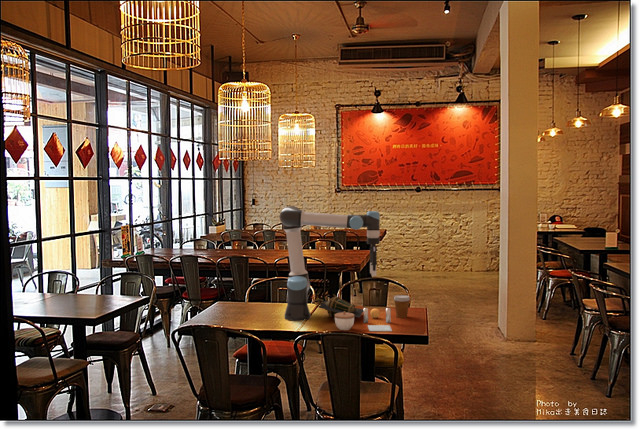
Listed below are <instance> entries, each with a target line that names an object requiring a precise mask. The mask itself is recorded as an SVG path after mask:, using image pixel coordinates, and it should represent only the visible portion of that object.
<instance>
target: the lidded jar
mask: <svg viewBox="0 0 640 430" xmlns="http://www.w3.org/2000/svg"><path fill="white" fill-rule="evenodd" d="M334 322H335V326H336V327H337V328H338V330H339V331H349V330H351V329H352V327H353V325H354V322H355V317H354V314H352V313H346V312H345V311H344V312H342V313H336V314H335V317H334Z"/></svg>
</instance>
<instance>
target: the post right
mask: <svg viewBox="0 0 640 430" xmlns="http://www.w3.org/2000/svg"><path fill="white" fill-rule="evenodd" d="M391 311H392V309H391V307H386V308H385V323H386V324H391V323H392V321H391V319H392V318H391V317H392V316H391V314H392V313H391Z"/></svg>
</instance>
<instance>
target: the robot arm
mask: <svg viewBox="0 0 640 430" xmlns="http://www.w3.org/2000/svg"><path fill="white" fill-rule="evenodd" d="M380 217H381V216H380V212H379V211H378V210H377V211H367V212H366V214H336V213H326V212H325V213H322V212H312V211H310V212H309V211H304V209H299V208H298V207H297V206H294V205H290V206H289V205H288V206H286V207H284V208H283V209H282V210H281V211H280V213H279V221H280V223H281V224H282V228H283V229H282V230H283V231H284V232H285V234H286V243H287V250H288V251H287V252H288V261H289V268H290V272H289V273H288V278H287V283H286V286H287V287H286V289H287V293H286V294H287V295H286V296H287V297H286V298H287V299H286V300H287V306H286V308H285V312H284V316H283V317H284V319H285V320H288V321H295V322H296V321H298V322H299V321H300V322H301V321H307V320H310V319H311V311H310V309H309V304H308V292H309V290H310V288H311V281H310V279H309V272H308V271H307V270H306V267H305V258H304V252H303V243H302V234H301V230H302V229H303V226H311V227H312V226H313V227H314V226H315V227H327V228H328V227H329V228H339V229H340V228H341V229H349V230H350V229H353V230H360V229H361V228H366V237H367V238H366V244H367V245H369V274H371V277H377V264H378V261H377V260H378V257H377V256H378V254H377V250H378V247H377V246H376V245H379V244H380V243H381V239H380V236H381V235H380V234H381V230H380V227H381V225H380V224H381V221H380V220H381V218H380Z"/></svg>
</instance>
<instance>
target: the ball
mask: <svg viewBox="0 0 640 430" xmlns="http://www.w3.org/2000/svg"><path fill="white" fill-rule="evenodd" d="M369 313H370V317H371V318H373V319H378V318H379V317H380V314H381V313H380V310H379V309H378V308H372V309H371V310H370V312H369Z"/></svg>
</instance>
